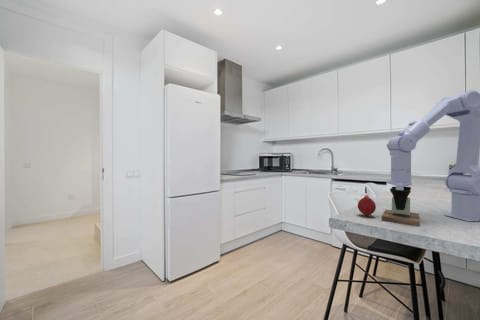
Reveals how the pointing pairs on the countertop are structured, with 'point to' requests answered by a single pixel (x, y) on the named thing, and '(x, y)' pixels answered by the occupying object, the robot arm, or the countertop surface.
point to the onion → (366, 206)
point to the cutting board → (401, 218)
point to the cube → (405, 211)
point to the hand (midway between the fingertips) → (400, 208)
